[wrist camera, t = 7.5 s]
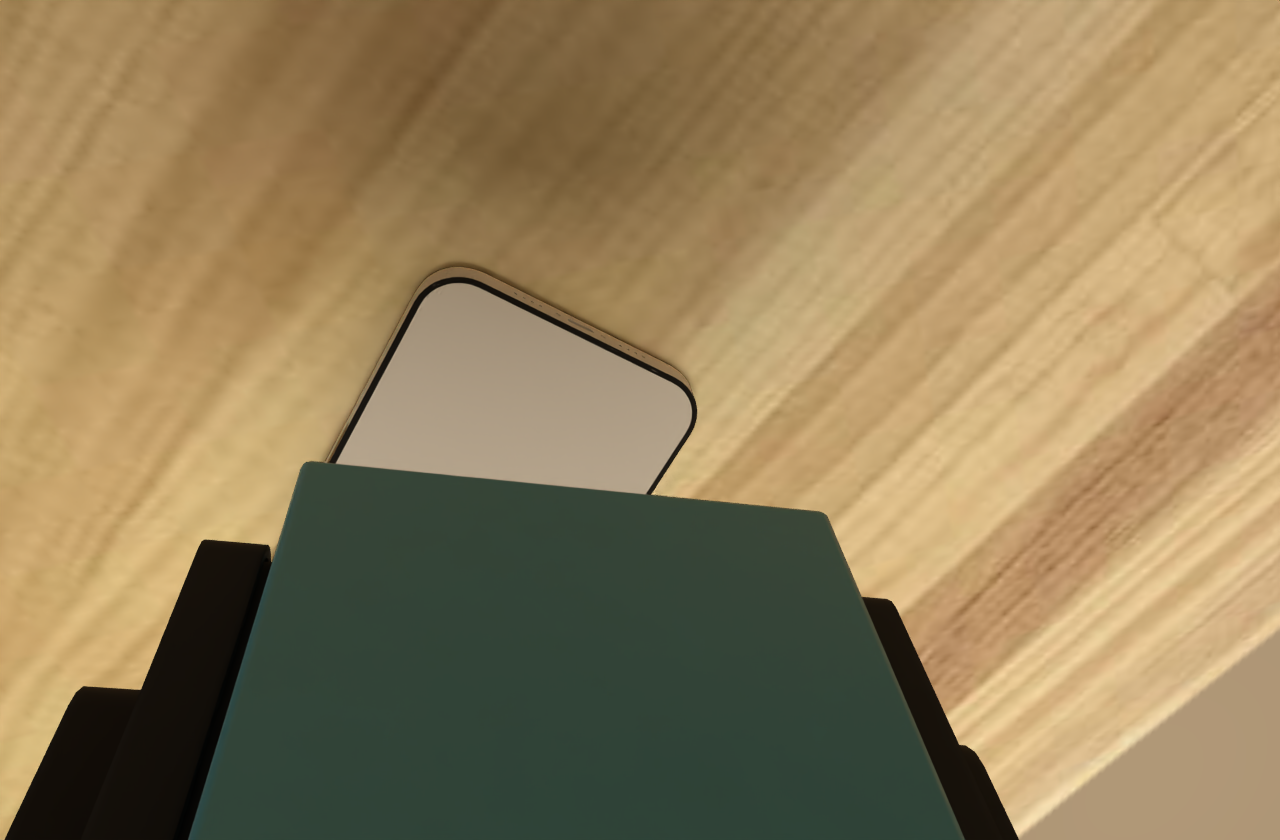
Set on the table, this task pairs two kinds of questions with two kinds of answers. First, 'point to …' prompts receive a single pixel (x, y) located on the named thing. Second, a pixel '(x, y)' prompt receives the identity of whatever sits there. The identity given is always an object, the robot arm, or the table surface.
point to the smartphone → (515, 395)
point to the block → (561, 674)
